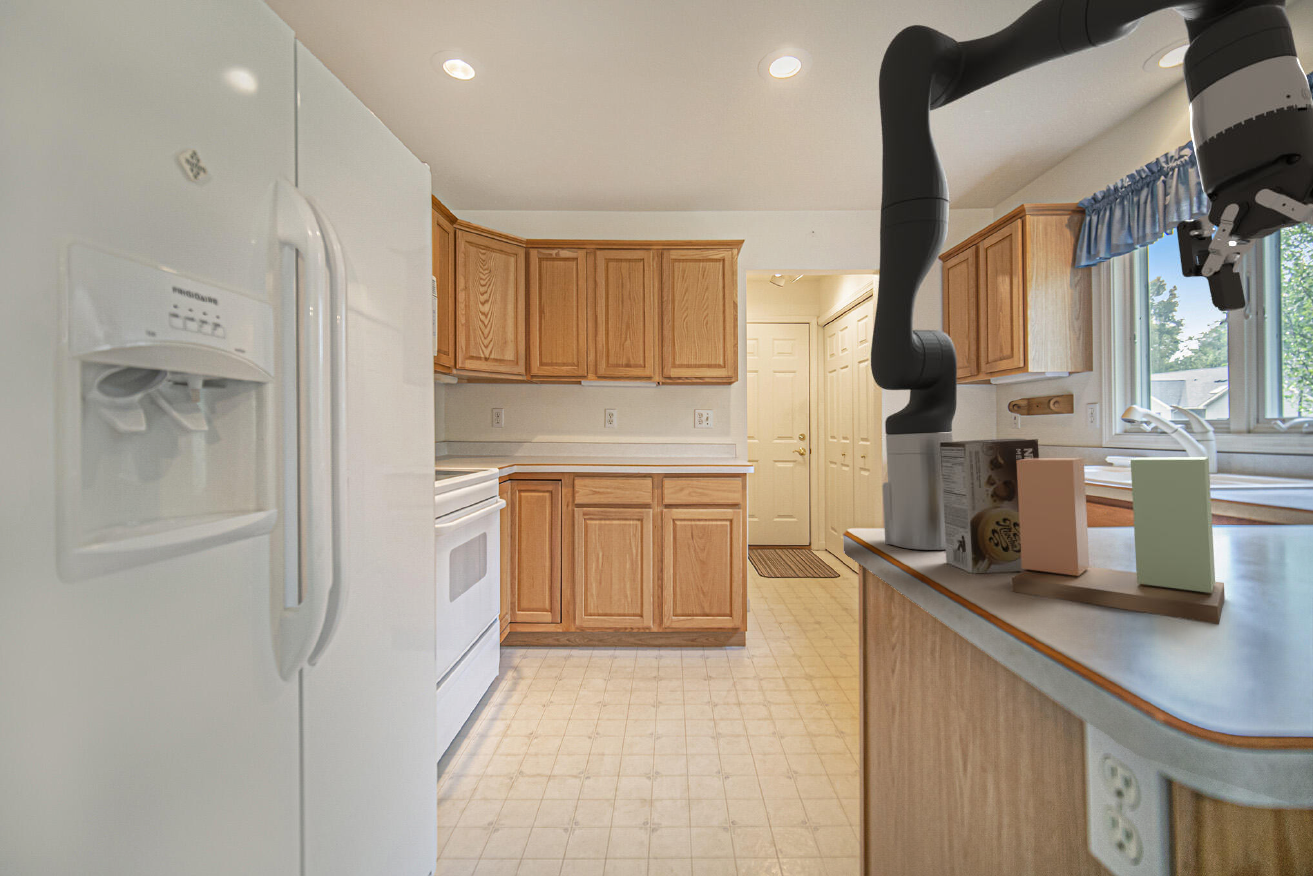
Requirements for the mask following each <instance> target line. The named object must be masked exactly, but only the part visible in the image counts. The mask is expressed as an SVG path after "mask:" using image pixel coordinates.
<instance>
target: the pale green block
mask: <svg viewBox="0 0 1313 876" xmlns="http://www.w3.org/2000/svg"><path fill="white" fill-rule="evenodd" d="M1209 461H1210V458H1209V456H1197V457H1196V456H1195V457H1194V456H1188V457H1187V456H1185V457H1184V456H1181V457H1180V456H1177V457H1176V456H1175V457H1169V456H1168V457H1167V456H1166V457H1165V456H1164V457H1163V456H1162V457H1161V456H1160V457H1159V456H1156V457H1153V456H1152V457H1135V458H1132V459H1130V470H1131V471H1130V473H1131V492H1132V496H1131V497H1132V511H1133V531H1134V533H1133V534H1134V547H1135V550H1134V551H1135V553H1134V554H1135V569H1136V571H1135V572H1136V573H1137V583H1139V584H1146V585H1154V586H1162V587H1170V588H1177V589H1185V590H1193V591H1201V592H1209V593H1212V590H1213V587H1214V584H1215V582H1216V574H1215V573H1216V572H1215V554H1214V536H1213V535H1214V534H1213V533H1214V532H1213V514H1212V498H1211V496H1212V495H1211V494H1212V493H1211V481H1210V480H1211V479H1210V478H1211V477H1210V462H1209Z"/></svg>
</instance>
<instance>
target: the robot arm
mask: <svg viewBox="0 0 1313 876" xmlns="http://www.w3.org/2000/svg"><path fill="white" fill-rule="evenodd" d="M1286 3H1287V0H1039V1H1038V2H1036V3H1035V4H1034V5H1033V6H1031V7H1030V8H1029V9H1028V10H1027V11H1024V13H1023V14H1021V16H1019V17H1018V18H1017V19H1016V20H1014V21H1013V22H1012V23H1010V24H1009V25H1008V26H1006V27H1005V28H1002V30H999V31H997V32H995V33H993V34H990V35H989V34H988V36H984V37H979V38H976V39H970V40H964V41H957V40H956V39H954V38H952V37H950V36H948V35H946V34H945V33H943V32H941V31H939V30H936V29H935V28H931V27H930V26H927V25H923V24H922V25H920V24H913V25H909V26H907V27H905V28H903V29H902V30H900V31H899V32H898V33H896V35H895V36H894V38H893V39H892V40H891V41H890V43H889V44H888V47H887V48H886V50H885V52H884V54H883V58H882V61H881V64H880V69H879V77H878V97H879V111H880V123H881V142H882V143H881V144H882V157H881V159H882V161H881V163H882V166H881V167H882V168H881V169H882V171H881V172H882V173H881V175H882V176H881V203H880V204H881V205H880V206H881V207H880V224H879V225H880V227H879V273H878V291H877V302H876V308H875V309H876V310H875V317H874V325H873V331H872V332H873V333H872V341H871V347H870V348H871V350H870V370H871V375H872V377H873V380H874V382H875V384H876V385H877V386H878V387H879V388H881V389H882V390H885V391H887V390H888V391H909V400H908V403H907V404H906V405H905V406H904V407H903V408H902V409H900V410H898V411H896V412H895V413H893V414H890V415H889V416H887V417H886V419H885V422H884V423H885V425H884V426H885V448H886V450H885V451H886V466H887V467H886V468H887V482H884V483H883V484H882V503H883V525H884V544H885V543H886V545H893V546H896V547H898V548H904V549H911V550H912V549H913V550H924V551H925V550H926V551H941V550H946V543H945V525H944V507H943V489H942V470H941V451H940V443H941V442H954V441H953V432H952V431H953V420H954V417H955V415H956V411H957V404H958V402H957V401H958V400H957V399H958V398H957V391H958V390H957V389H958V388H957V386H958V365H957V364H958V360H957V358H958V357H957V352H956V347H955V344H954V342H953V340H952V338H951V337H950V336H949V335H948V334H947V333H945V332H944V331H941V330H936V329H914V327H913V325H914V324H913V323H914V322H913V321H914V309H915V304H916V298H917V295H918V293H919V289H920V287H921V285H922V283H923V281H924V280H925V278H926V276H927V275H928V273H929V272H930V270H931V269H932V267H933V265H934V264H935V262H936V261H937V258H938V257H939V256H940V254H941V252H942V250H943V248H944V245H945V243H946V240H947V237H948V229H949V228H948V227H949V214H950V213H949V209H950V208H949V207H950V193H949V192H950V191H949V185H948V181H947V176H946V173H945V169H944V167H943V163H942V161H941V157H940V156H939V153H938V150H937V147H936V143H935V141H934V140H935V139H934V138H933V137H934V136H933V133H932V132H933V131H932V126H931V111H934V110H937V109H939V108H942V107H945V106H946V105H949V104H952V103H954V102H955V101H958V100H960V99H963V98H964V97H966V96H968V95H970V94H973V93H974V92H976V91H978V90H981V89H983V88H985V87H988V86H989V85H992V84H995V83H997V82H999V81H1001V80H1003V79H1006V78H1008V77H1010V76H1013V75H1016V74H1018V73H1020V72H1021V73H1022V72H1023V71H1026V70H1029V69H1031V68H1035V67H1038V66H1040V65H1041V66H1042V65H1044V64H1047V63H1050V62H1053V61H1057V60H1061V59H1064V58H1067V57H1071V56H1074V55H1077V54H1081V53H1085V52H1087V51H1090V50H1094V49H1097V48H1100V47H1103V46H1107V45H1110V44H1112V43H1114V42H1118V41H1120V40H1123V39H1124V38H1127V37H1128V36H1129V35H1130V34H1131V33H1133V32H1134V31H1135V30H1136V29H1137V28H1138V27H1139V26H1140V24H1141V22H1142V21H1143V19H1144V18H1145V17H1147V16H1149V15H1152V14H1154V13H1157V12H1161V11H1164V10H1169V9H1173V10H1174V11H1175V12H1176V13H1177V14H1179V15H1180V16H1181V19H1182V20H1183V23H1184V26H1185V30H1186V32H1187V38H1188V44H1189V46H1188V47H1187V49H1186V50H1185V53H1184V56H1183V59H1182V76H1183V80H1184V81H1183V82H1184V86H1185V91H1186V95H1187V101H1188V102H1187V103H1188V106H1189V113H1190V115H1189V117H1190V119H1189V121H1190V122H1189V124H1190V126H1189V128H1190V134H1191V139H1192V143H1193V149H1194V154H1195V158H1196V163H1197V169H1198V173H1199V174H1198V175H1199V179H1200V183H1201V188H1202V191H1203V194H1204V195H1206V197H1207V198H1208V199H1209V201H1210V209H1209V211H1208V213H1207V214H1205V215H1202V216H1200V217H1199V218H1195V219H1187V220H1181V221H1180V222H1178V224H1177V226H1176V233H1177V234H1176V235H1177V240H1178V241H1177V242H1178V250H1179V258H1180V265H1181V274H1182V276H1183V277H1184V278H1192V277H1193V278H1194V277H1195V278H1196V277H1197V278H1198V277H1201V278H1202V277H1203V278H1205V279H1206V280H1207V282H1208V287H1209V293H1210V297H1211V301H1212V302H1211V303H1212V304H1213V306H1214V307H1215V308H1217V309H1218V310H1219V311H1220V312H1230V311H1231V312H1233V311H1237V310H1240V309H1244V308H1245V307H1246V303H1247V302H1246V297H1245V293H1244V289H1243V285H1242V278H1241V274H1240V271H1237V269H1238V267H1239V265H1240V263H1241V262H1242V260H1243V258H1244V256H1245V255H1246V253H1247V252H1249V251H1250V250H1252V249H1253V248H1254V246H1255V244H1256V241H1257V240H1259V239H1263V238H1266V237H1269V236H1271V235H1273V234H1275V233H1277V232H1278V231H1280V230H1281V229H1285V228H1291V227H1295V226H1297V225H1300V224H1302V223H1306V224H1308V225H1311V226H1313V98H1312V97H1313V95H1312V91H1311V89H1310V83H1309V81H1308V78H1307V75H1306V74H1305V72H1304V70H1303V68H1302V66H1301V64H1300V59H1299V57H1298V53H1297V52H1298V51H1297V48H1296V45H1295V41H1294V35H1293V32H1292V30H1293V29H1292V27H1291V26H1292V25H1291V23H1290V21H1289V18H1288V16H1287V13H1286ZM1214 227H1217V230H1216V228H1214ZM1213 234H1214V236H1213ZM1232 238H1234V239H1236V240H1234V241H1231V240H1232ZM1236 271H1237V272H1236Z"/></svg>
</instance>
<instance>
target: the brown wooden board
mask: <svg viewBox="0 0 1313 876" xmlns="http://www.w3.org/2000/svg"><path fill="white" fill-rule="evenodd" d="M1011 583H1012V584H1011V585H1012V593H1013V592H1014V593H1020V594H1026V595H1032V596H1033V595H1034V596H1039V597H1046V598H1050V599H1051V598H1052V599H1059V600H1064V601H1065V600H1066V601H1072V602H1078V603H1084V604H1090V605H1097V606H1102V607H1108V608H1115V609H1121V610H1127V611H1134V612H1141V613H1147V614H1153V615H1159V616H1166V617H1171V618H1177V619H1184V620H1189V621H1190V620H1191V621H1197V622H1203V623H1210V624H1217V625H1219V623H1220V621H1221V615H1222V612H1223V607H1224V603H1225V599H1226V598H1225V597H1226V595H1225V583H1224V582H1220V581H1215V584H1214V587H1213V590H1212V593H1209V592H1201V591H1193V590H1185V589H1177V588H1170V587H1162V586H1154V585H1146V584H1139V583H1137V573H1136V571H1127V570H1126V571H1125V570H1120V569H1119V570H1117V569H1109V568H1100V567H1095V566H1093V567H1092V566H1089V568H1088V569H1086V570H1085V571H1084V572H1083V573H1081V574H1080V575H1079V576H1076V575H1069V574H1061V573H1053V572H1045V571H1038V570H1030V569H1025V570H1023V571H1019V573H1017V574H1015V575H1013V576H1012V577H1011Z"/></svg>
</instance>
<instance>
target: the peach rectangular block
mask: <svg viewBox="0 0 1313 876" xmlns="http://www.w3.org/2000/svg"><path fill="white" fill-rule="evenodd" d="M1017 480H1018V500H1019V521H1020V541H1021V562H1022V569H1030V570H1038V571H1045V572H1053V573H1061V574H1069V575H1076V576H1079V575H1080V574H1081V573H1083V572H1084V571H1085V570H1086V569H1088V568H1089V567H1090V557H1089V536H1088V535H1089V534H1088V533H1089V531H1088V514H1087V498H1086V494H1087V493H1086V477H1085V459H1084V457H1039V458H1028V459H1021V460H1017Z"/></svg>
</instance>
